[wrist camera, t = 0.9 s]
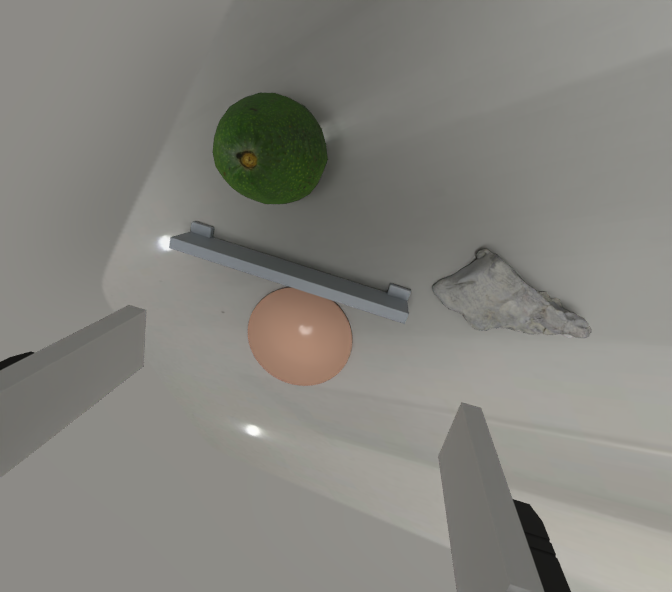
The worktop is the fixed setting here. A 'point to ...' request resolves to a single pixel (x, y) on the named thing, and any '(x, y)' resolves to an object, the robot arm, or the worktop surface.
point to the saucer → (299, 336)
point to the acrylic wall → (293, 274)
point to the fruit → (270, 149)
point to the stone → (505, 300)
